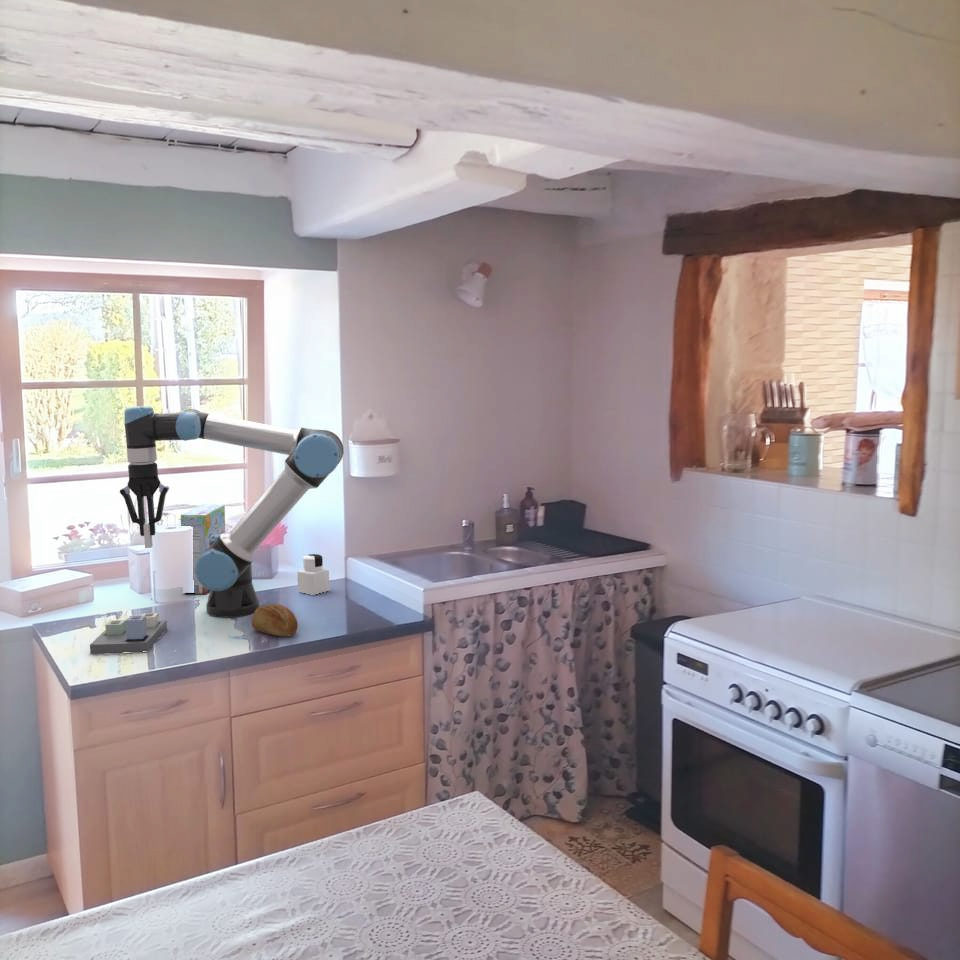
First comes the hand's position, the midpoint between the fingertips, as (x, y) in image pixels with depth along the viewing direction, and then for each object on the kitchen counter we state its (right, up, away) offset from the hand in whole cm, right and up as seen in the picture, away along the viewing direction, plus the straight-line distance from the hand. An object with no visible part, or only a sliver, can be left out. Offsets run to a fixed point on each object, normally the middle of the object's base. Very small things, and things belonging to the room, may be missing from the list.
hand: (148, 547), depth 251 cm
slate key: (+3, -22, -17) cm, 28 cm away
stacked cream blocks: (+39, -17, +38) cm, 57 cm away
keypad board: (-1, -24, -11) cm, 27 cm away
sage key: (-4, -24, -12) cm, 27 cm away
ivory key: (+2, -23, -5) cm, 24 cm away
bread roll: (+36, -23, -5) cm, 43 cm away
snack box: (+2, -16, +46) cm, 49 cm away
